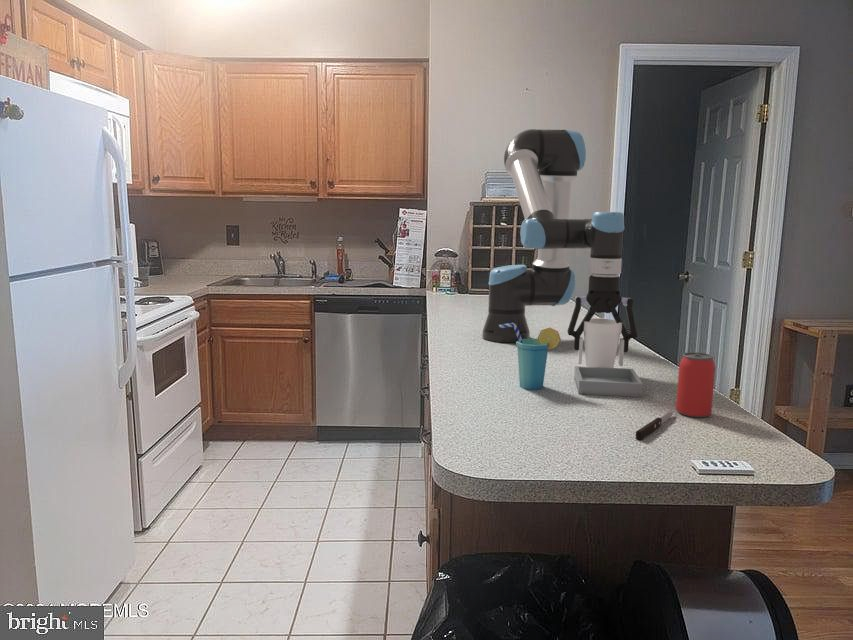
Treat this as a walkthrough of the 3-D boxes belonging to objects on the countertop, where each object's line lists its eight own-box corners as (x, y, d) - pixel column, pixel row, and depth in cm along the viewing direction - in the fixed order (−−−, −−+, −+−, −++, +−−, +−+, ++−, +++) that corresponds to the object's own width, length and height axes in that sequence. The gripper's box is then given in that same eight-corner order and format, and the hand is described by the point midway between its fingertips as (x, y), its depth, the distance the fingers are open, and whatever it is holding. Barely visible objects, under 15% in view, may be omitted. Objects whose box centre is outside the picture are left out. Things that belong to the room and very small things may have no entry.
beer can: (709, 410, 126) (714, 353, 124) (712, 420, 120) (718, 360, 118) (674, 406, 128) (679, 350, 126) (676, 416, 122) (681, 357, 120)
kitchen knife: (640, 442, 108) (641, 431, 108) (635, 441, 109) (635, 430, 109) (675, 417, 122) (676, 407, 122) (670, 416, 123) (671, 406, 122)
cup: (498, 390, 139) (499, 325, 136) (496, 381, 147) (498, 319, 144) (560, 392, 138) (563, 326, 136) (555, 382, 146) (558, 320, 143)
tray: (574, 378, 150) (574, 366, 149) (632, 380, 148) (632, 368, 147) (578, 393, 137) (579, 380, 136) (642, 397, 135) (643, 383, 134)
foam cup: (620, 377, 150) (623, 325, 148) (581, 375, 152) (584, 323, 150) (616, 368, 159) (619, 318, 157) (579, 366, 161) (582, 317, 159)
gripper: (560, 275, 149) (556, 365, 153) (654, 277, 146) (648, 369, 150) (558, 272, 157) (554, 358, 161) (648, 274, 153) (642, 362, 157)
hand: (599, 363), depth 155 cm, fingers closed on foam cup, 9 cm apart
